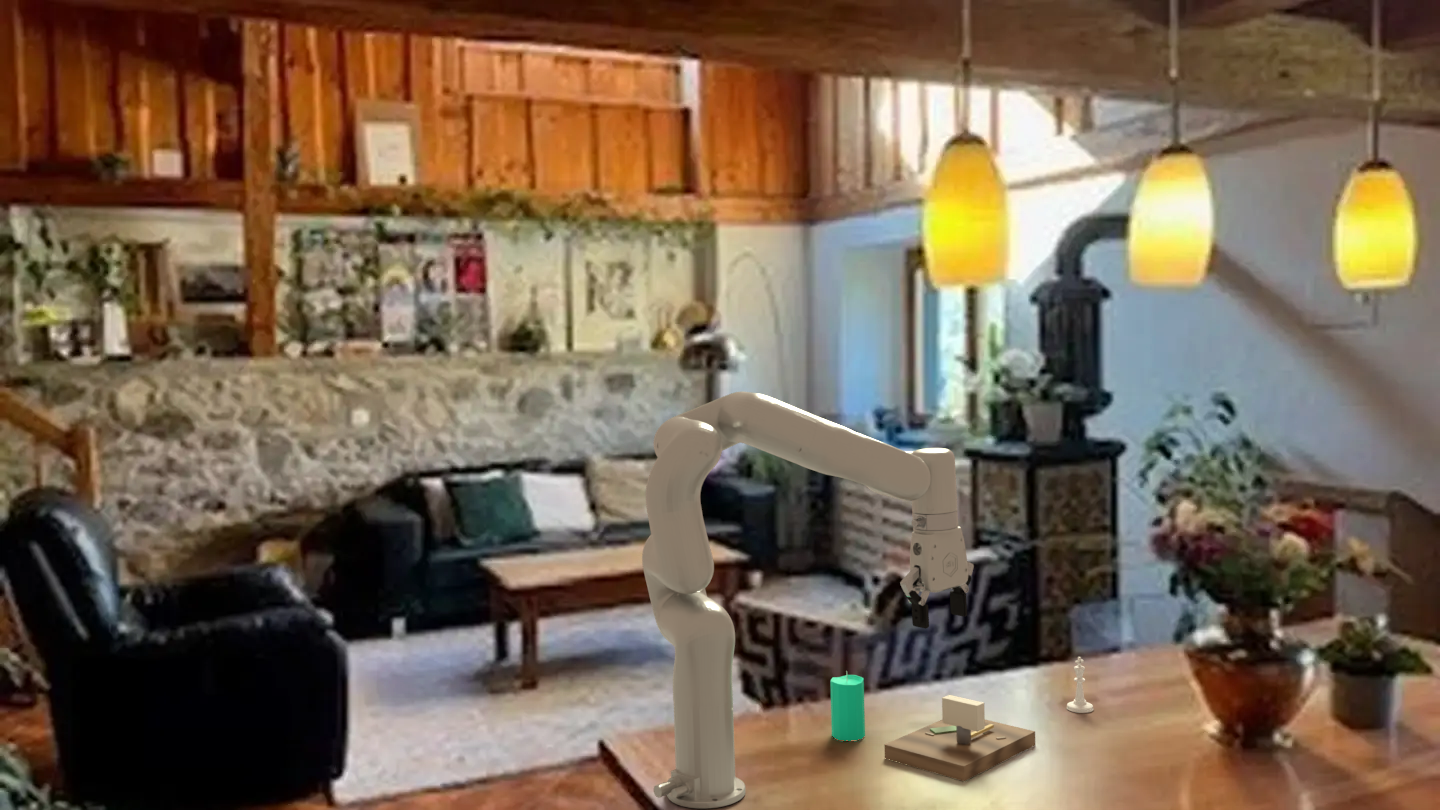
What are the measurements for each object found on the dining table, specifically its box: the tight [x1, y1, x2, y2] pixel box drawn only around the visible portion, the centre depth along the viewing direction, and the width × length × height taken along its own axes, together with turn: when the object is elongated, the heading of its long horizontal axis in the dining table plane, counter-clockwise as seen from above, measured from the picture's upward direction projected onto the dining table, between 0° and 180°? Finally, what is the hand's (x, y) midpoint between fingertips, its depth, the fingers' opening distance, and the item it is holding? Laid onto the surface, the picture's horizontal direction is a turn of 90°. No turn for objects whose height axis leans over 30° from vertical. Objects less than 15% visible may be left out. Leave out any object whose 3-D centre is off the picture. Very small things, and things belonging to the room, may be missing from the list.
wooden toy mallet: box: [941, 694, 994, 744], centre depth 210 cm, size 10×7×7 cm
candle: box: [829, 670, 866, 741], centre depth 220 cm, size 6×6×12 cm
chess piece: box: [1066, 656, 1094, 714], centre depth 231 cm, size 5×5×10 cm
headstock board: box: [883, 719, 1036, 782], centre depth 210 cm, size 22×16×3 cm
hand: (940, 621), depth 207 cm, fingers open, 9 cm apart
